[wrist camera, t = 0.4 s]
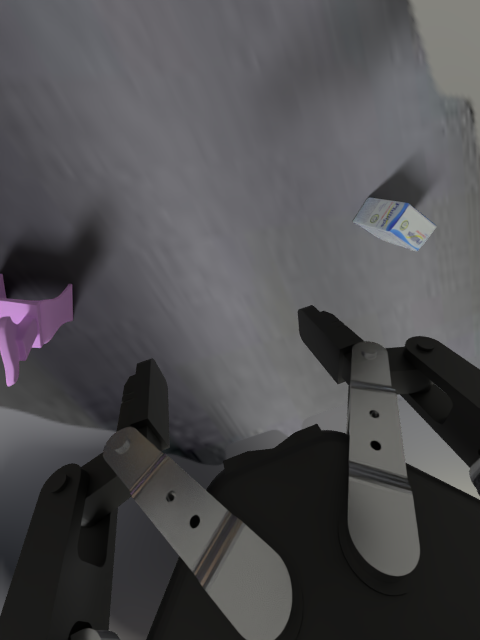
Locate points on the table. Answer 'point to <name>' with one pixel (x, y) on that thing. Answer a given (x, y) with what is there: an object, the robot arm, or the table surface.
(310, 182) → the table surface
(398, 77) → the table surface
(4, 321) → the toy chair
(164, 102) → the table surface
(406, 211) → the medicine box
